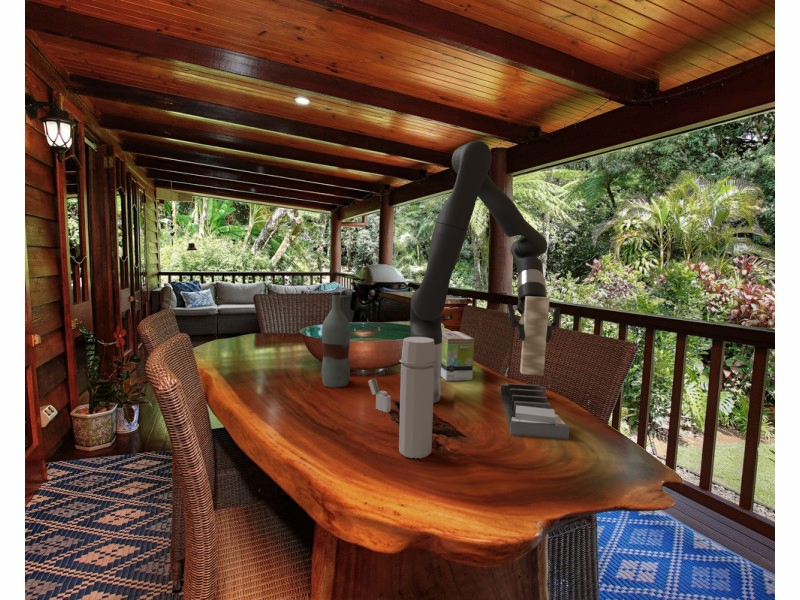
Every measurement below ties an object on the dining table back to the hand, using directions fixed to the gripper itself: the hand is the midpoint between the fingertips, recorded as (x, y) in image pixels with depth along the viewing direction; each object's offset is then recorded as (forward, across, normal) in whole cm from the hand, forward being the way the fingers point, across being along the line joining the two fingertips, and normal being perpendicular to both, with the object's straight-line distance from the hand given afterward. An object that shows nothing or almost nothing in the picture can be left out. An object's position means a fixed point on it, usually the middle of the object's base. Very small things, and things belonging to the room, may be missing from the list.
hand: (535, 339), depth 116 cm
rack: (+14, 0, +17) cm, 22 cm away
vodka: (+1, -58, +32) cm, 66 cm away
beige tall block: (+5, 0, +8) cm, 9 cm away
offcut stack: (+21, 0, +8) cm, 22 cm away
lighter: (+15, -40, +17) cm, 46 cm away
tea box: (-13, -21, +45) cm, 51 cm away
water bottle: (+32, -27, 0) cm, 42 cm away
